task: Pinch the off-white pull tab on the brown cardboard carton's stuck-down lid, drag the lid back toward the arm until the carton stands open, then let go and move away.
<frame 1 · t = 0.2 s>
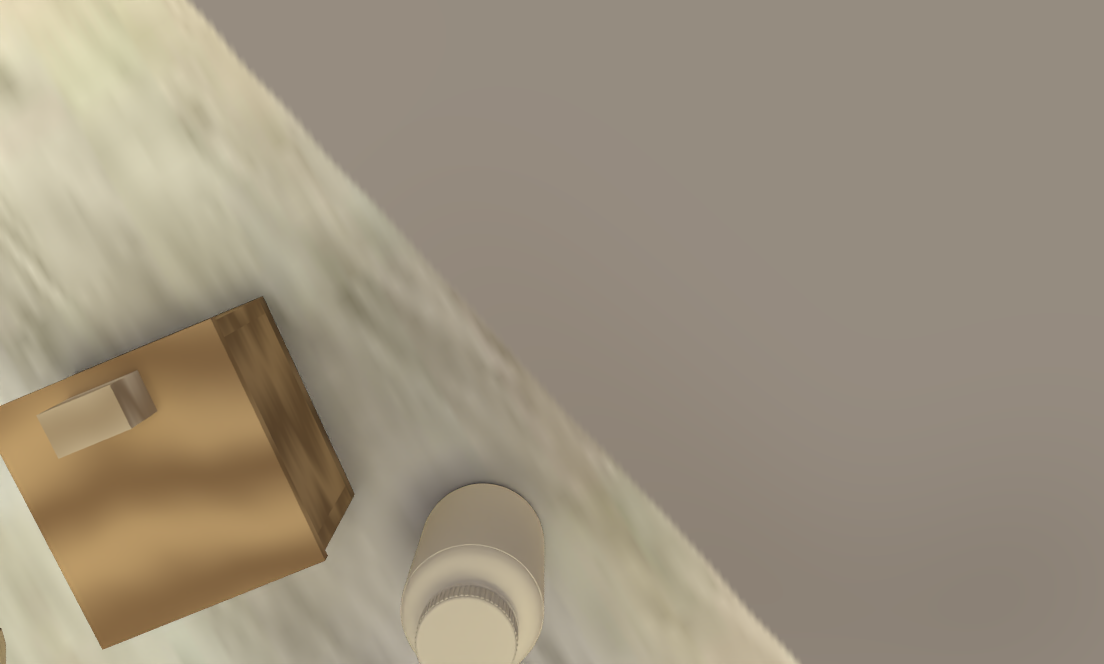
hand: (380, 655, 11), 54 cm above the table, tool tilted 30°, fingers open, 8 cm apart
carton: (216, 435, 66), on the table
pill bottle: (483, 537, 67), on the table
lid: (145, 497, 54), point 12 cm above the table, slide at 0.0 cm
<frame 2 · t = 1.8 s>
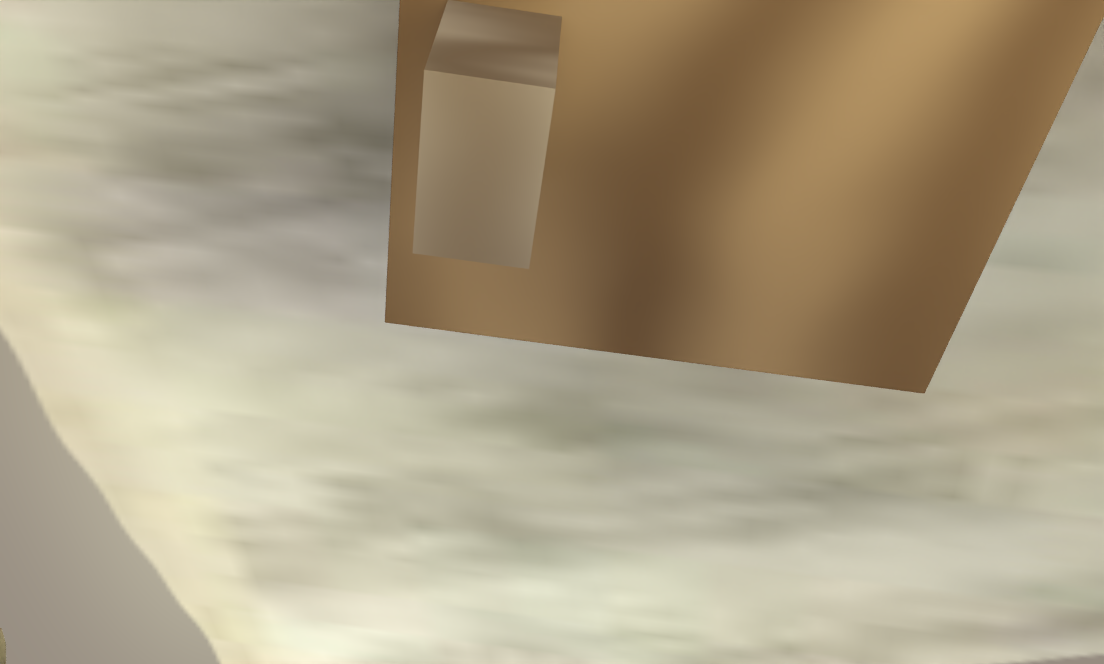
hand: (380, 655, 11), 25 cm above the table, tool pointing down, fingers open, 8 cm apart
lid: (723, 159, 22), point 12 cm above the table, slide at 0.0 cm
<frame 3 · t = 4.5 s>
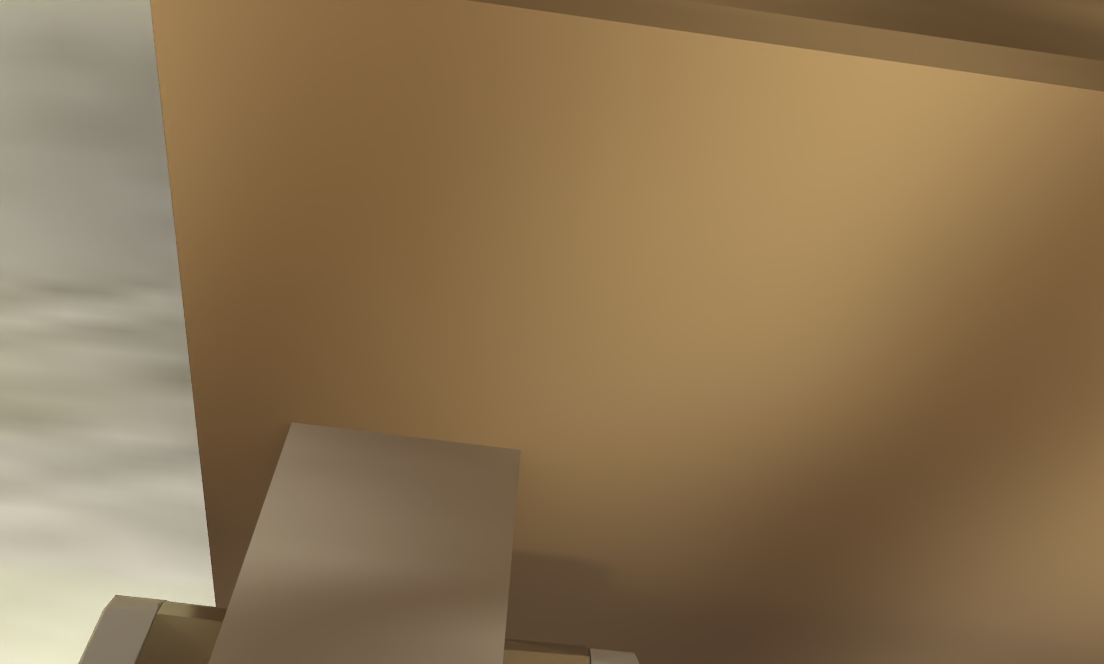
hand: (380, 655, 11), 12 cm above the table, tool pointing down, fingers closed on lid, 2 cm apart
carton: (726, 167, 21), on the table
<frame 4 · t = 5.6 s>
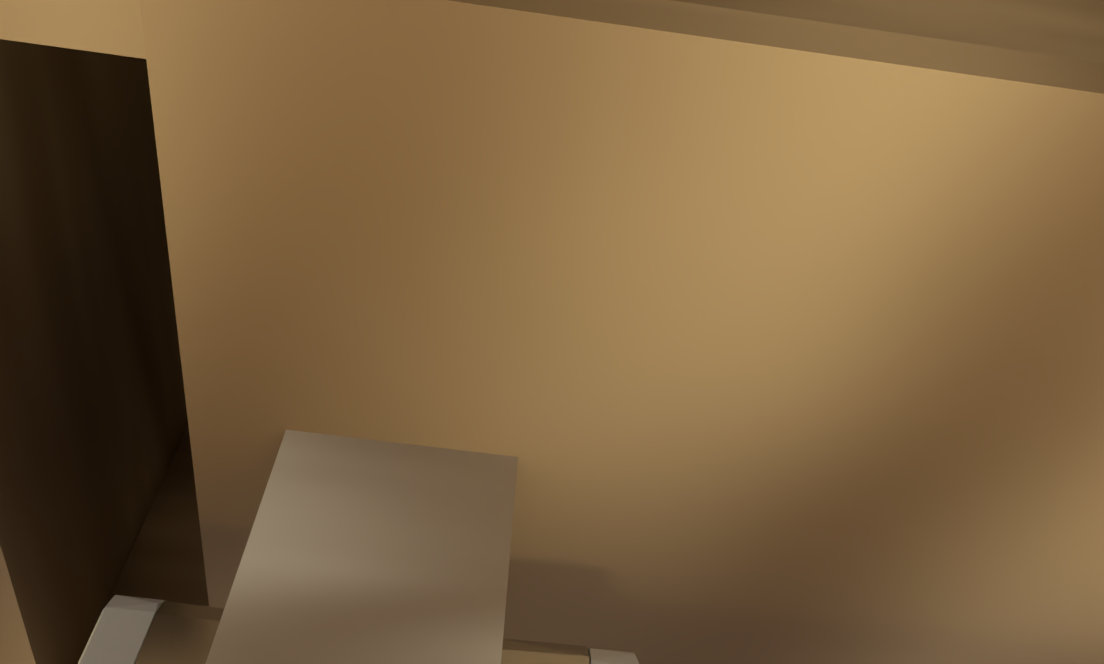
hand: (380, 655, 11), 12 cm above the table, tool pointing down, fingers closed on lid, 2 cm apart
carton: (523, 141, 20), on the table
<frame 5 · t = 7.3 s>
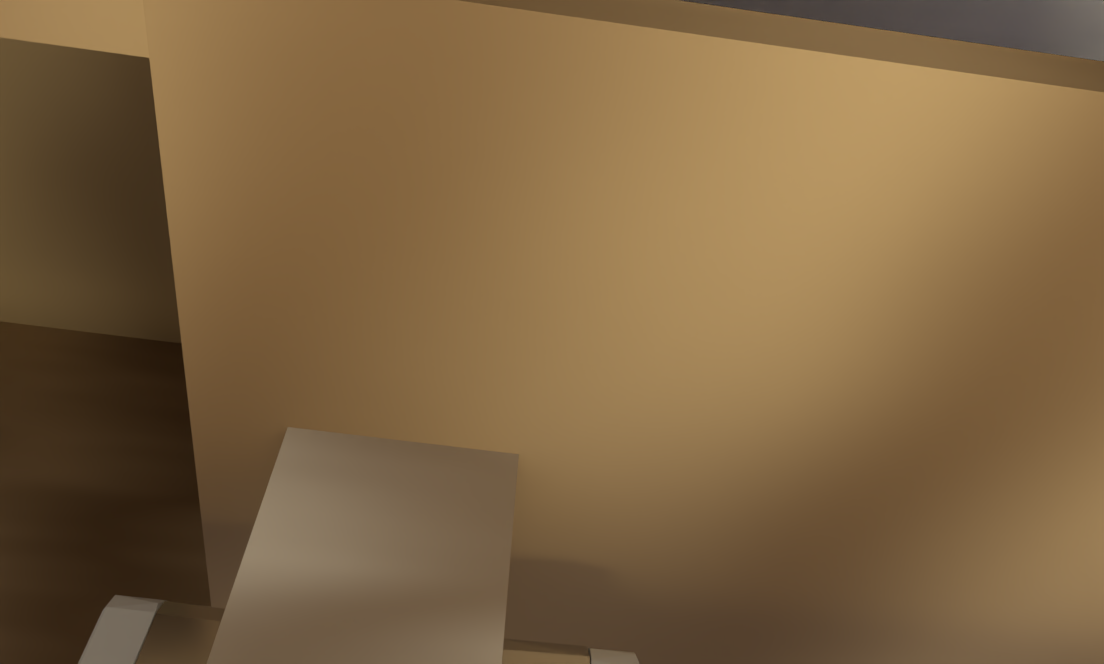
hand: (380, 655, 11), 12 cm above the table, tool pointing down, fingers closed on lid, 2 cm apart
carton: (219, 99, 20), on the table
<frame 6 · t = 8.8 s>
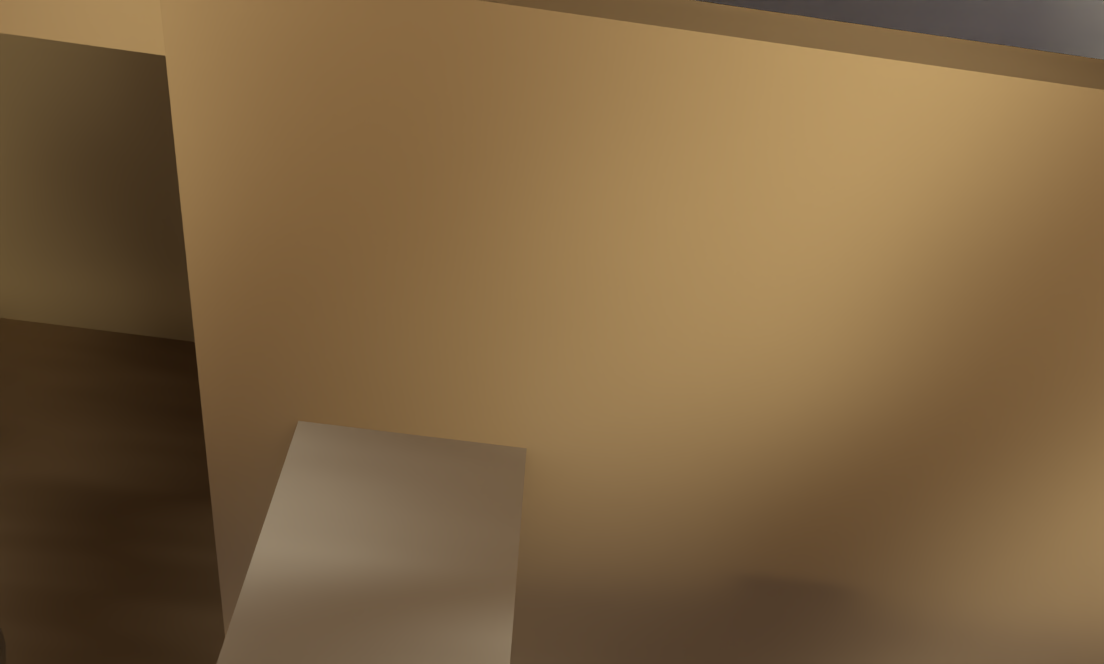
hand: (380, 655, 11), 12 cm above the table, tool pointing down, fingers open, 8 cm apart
carton: (227, 98, 20), on the table
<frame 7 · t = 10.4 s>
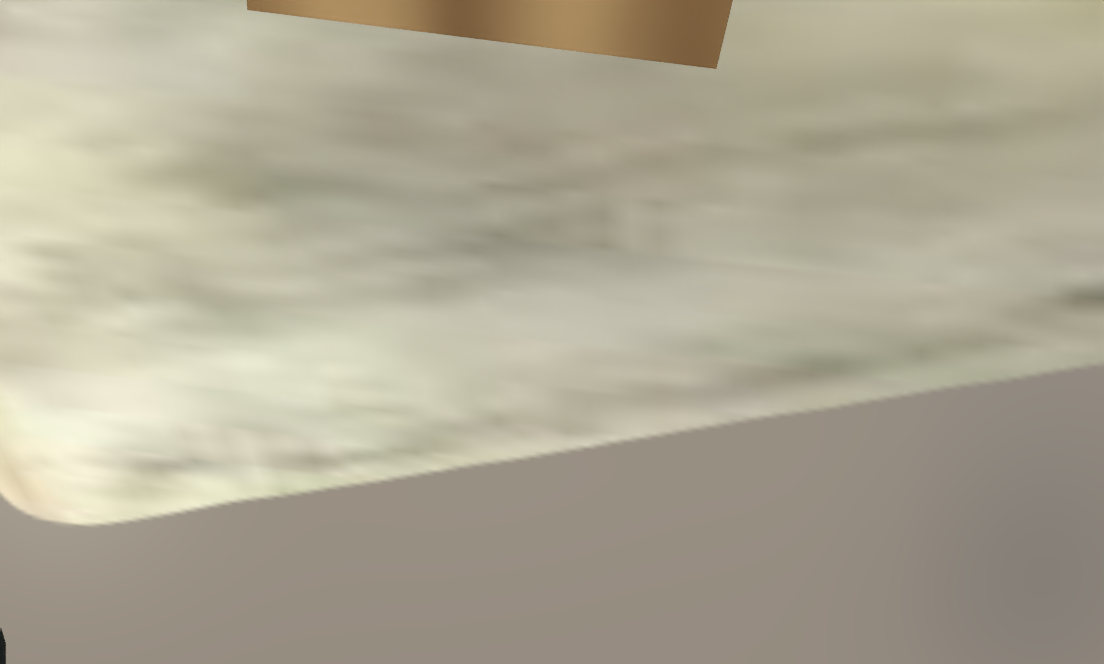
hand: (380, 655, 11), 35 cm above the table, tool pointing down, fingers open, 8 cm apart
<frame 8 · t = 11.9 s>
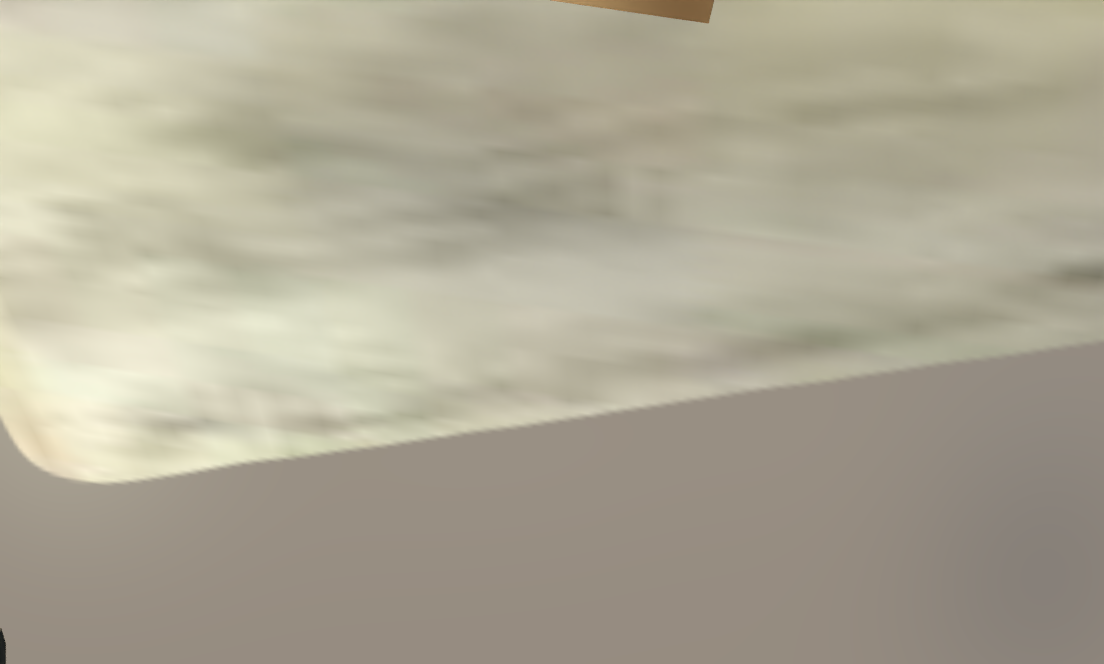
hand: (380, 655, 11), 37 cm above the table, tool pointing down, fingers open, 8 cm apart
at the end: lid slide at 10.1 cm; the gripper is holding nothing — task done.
